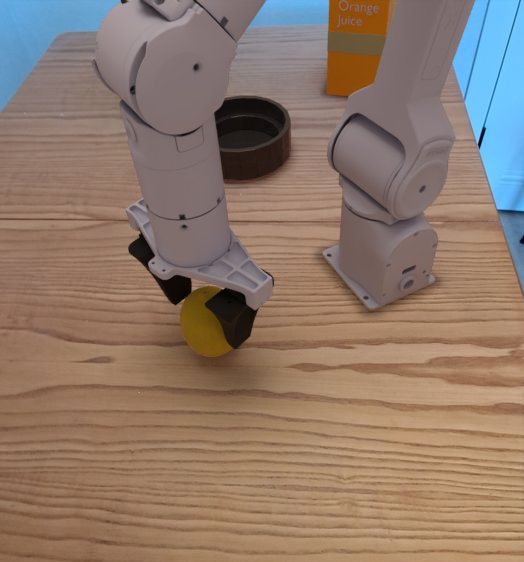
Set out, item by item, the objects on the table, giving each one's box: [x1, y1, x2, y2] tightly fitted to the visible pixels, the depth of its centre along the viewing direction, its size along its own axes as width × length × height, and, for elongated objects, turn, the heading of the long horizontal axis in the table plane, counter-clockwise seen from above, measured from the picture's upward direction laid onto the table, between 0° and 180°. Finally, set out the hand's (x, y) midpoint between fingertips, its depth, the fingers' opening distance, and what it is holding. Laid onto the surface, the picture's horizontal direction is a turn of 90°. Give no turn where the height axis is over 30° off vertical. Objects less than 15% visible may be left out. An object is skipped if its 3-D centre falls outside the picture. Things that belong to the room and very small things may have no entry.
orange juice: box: [326, 0, 397, 98], centre depth 75 cm, size 8×9×20 cm
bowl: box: [214, 94, 292, 181], centre depth 72 cm, size 12×12×4 cm
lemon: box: [179, 285, 234, 358], centre depth 52 cm, size 6×6×8 cm
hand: (209, 318), depth 51 cm, fingers open, 7 cm apart
